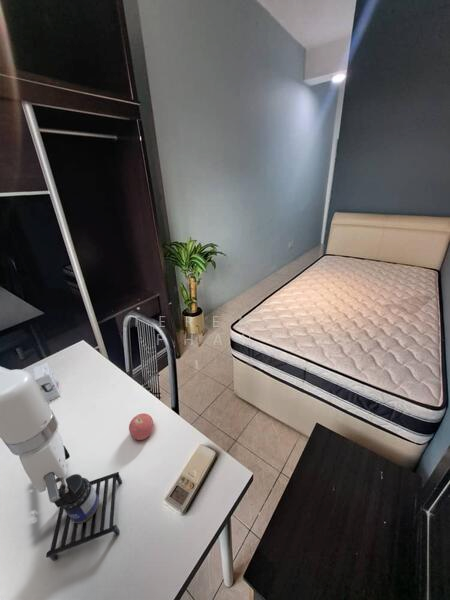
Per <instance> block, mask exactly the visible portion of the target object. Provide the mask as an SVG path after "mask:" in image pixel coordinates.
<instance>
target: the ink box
mask: <svg viewBox="0 0 450 600" xmlns="http://www.w3.org/2000/svg"><path fill="white" fill-rule="evenodd" d="M32 369H33V378H34V379H35V381H36V383H37V385H38V387H39V388H40V390H41V392H42V394H43V395H44V397H45V399H46V401H47V402H49V401H52V400H54V399H57V398H58V397H59V398H60V396H61V394H60V390H59V386H58V382H57V380H56V378H55V376H54V373H53V372H52V369H51V367H50V365H49V363H48V362H45V363H42V364H40V365H38V366H35V367H33V368H32Z"/></svg>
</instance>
